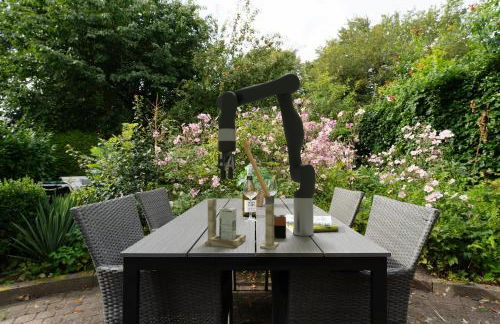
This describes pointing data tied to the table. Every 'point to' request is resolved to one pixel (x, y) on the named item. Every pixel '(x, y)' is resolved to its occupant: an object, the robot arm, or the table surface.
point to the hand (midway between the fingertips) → (227, 179)
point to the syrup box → (227, 223)
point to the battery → (279, 226)
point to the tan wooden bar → (255, 167)
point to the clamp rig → (269, 235)
